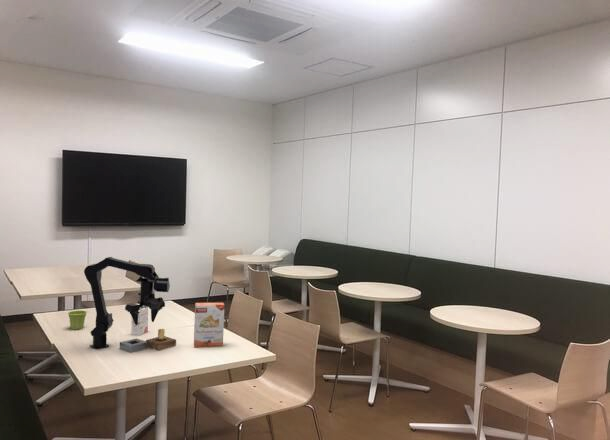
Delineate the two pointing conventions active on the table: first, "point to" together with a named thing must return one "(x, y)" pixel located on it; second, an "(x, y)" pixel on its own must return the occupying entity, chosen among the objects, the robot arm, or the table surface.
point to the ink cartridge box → (140, 323)
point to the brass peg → (161, 334)
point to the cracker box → (209, 324)
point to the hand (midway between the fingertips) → (144, 323)
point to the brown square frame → (161, 343)
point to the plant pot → (77, 319)
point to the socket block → (133, 345)
